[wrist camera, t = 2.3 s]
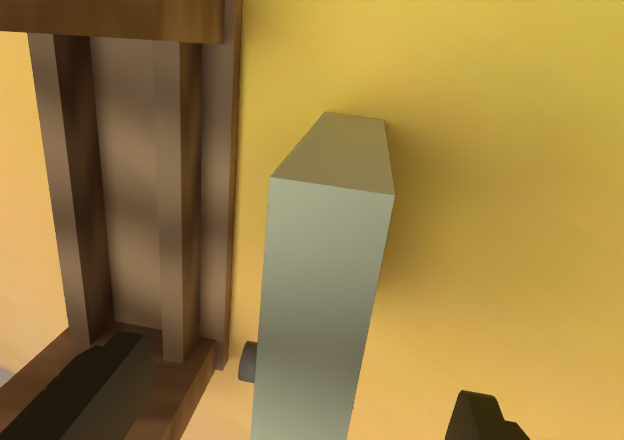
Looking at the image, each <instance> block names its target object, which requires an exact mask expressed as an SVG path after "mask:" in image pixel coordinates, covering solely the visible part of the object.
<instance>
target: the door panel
mask: <svg viewBox="0 0 624 440" xmlns="http://www.w3.org/2000/svg"><path fill="white" fill-rule="evenodd" d="M394 199H395V191H394V184H393V178H392V171H391V164H390V158H389V151H388V144H387V138H386V131H385V124H384V120H380V119H373V118H365V117H358V116H350V115H343V114H335V113H328V112H324V113H323V115H322V116H321V117H320V118H319V119H318V121H317V122H316V123H315V124H314V125H313V126H312V128H311V129H310V130H309V131H308V132H307V134H306V135H305V136H304V137H303V138H302V140H301V141H300V142H299V143H298V144H297V145H296V147H295V148H294V149H293V150H292V151H291V153H290V154H289V155H288V156H287V157H286V158H285V160H284V161H283V162H282V163H281V164H280V166H279V167H278V168H277V169H276V170H275V172H274V173H273V174H272V175H271V176H270V183H269V196H268V210H267V223H266V237H265V250H264V264H263V277H262V290H261V304H260V317H259V331H258V343H256V342H250V341H247V342H246V344H245V346H244V349H243V352H242V355H241V359H240V364H239V371H238V379H239V380H241V381H246V382H251V383H255V385H254V398H253V412H252V425H251V439H250V440H346V439H347V434H348V429H349V424H350V419H351V414H352V409H353V404H354V399H355V394H356V389H357V384H358V379H359V374H360V369H361V364H362V359H363V354H364V349H365V344H366V339H367V334H368V329H369V324H370V319H371V314H372V309H373V304H374V299H375V294H376V289H377V284H378V279H379V274H380V269H381V264H382V259H383V254H384V249H385V244H386V239H387V234H388V229H389V224H390V219H391V214H392V209H393V204H394Z"/></svg>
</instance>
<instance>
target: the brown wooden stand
mask: <svg viewBox="0 0 624 440" xmlns="http://www.w3.org/2000/svg"><path fill="white" fill-rule="evenodd" d="M241 19H242V0H0V31H10V32H26V33H27V35H28V42H29V49H30V56H31V63H32V70H33V77H34V84H35V91H36V99H37V106H38V113H39V120H40V127H41V134H42V141H43V148H44V155H45V162H46V169H47V176H48V183H49V190H50V197H51V204H52V211H53V218H54V225H55V232H56V240H57V247H58V254H59V261H60V268H61V275H62V282H63V289H64V296H65V303H66V310H67V317H68V324H69V327H68V328H67V329H66V330H65V331H63V332H62V333H61V334H60V335H59V336H58V337H57V338H56V339H55V340H53V341H52V342H51V343H50V344H49V345H48V346H47V347H46V348H45V349H43V350H42V351H41V352H40V353H39V354H38V355H37V356H36V357H34V358H33V359H32V360H31V361H30V362H29V363H28V364H27V365H26V366H24V367H23V368H22V369H21V370H20V371H19V372H18V373H17V374H16V375H14V376H13V377H12V378H11V379H10V380H9V381H8V382H7V383H5V384H4V385H3V386H2V387H1V388H0V433H1V432H2V431H3V430H4V429H5V428H6V427H7V426H8V425H9V424H10V423H11V422H12V421H13V420H14V419H15V418H16V417H17V416H18V414H19V413H20V412H21V411H22V410H23V409H24V408H25V407H26V406H27V405H28V404H29V403H30V402H31V401H32V400H33V399H34V398H35V397H36V396H37V395H38V394H39V393H40V392H41V391H42V390H45V389H46V386H47V385H48V384H49V383H50V382H51V381H52V380H53V379H54V378H55V377H56V376H58V375H59V373H60V372H61V371H62V370H63V368H64V367H65V366H66V365H67V364H68V363H69V362H70V361H71V360H72V359H73V358H74V357H76V356H77V355H79V354H81V353H83V352H84V351H86V350H88V349H89V348H91V347H93V346H95V345H98V346H104V345H105V344H106V343H107V342H108V341H109V340H110V339H111V337H112V336H113V335H114V334H115V333H116V332H117V331H118V330H120V329H127V330H133V331H138V332H144V333H149V334H151V336H152V340H153V362H154V384H153V389H152V392H151V395H150V398H149V400H148V402H147V404H146V405H145V407H144V409H143V410H142V412H141V413H140V415H139V416H138V418H137V420H136V421H135V423H134V424H133V426H132V427H131V429H130V430H129V432H128V434H127V435H126V437H125V438H124V440H180V439H181V437H182V435H183V433H184V431H185V429H186V427H187V425H188V423H189V421H190V419H191V417H192V415H193V413H194V411H195V409H196V407H197V405H198V403H199V401H200V399H201V397H202V395H203V393H204V391H205V389H206V387H207V385H208V383H209V381H210V379H211V377H212V375H213V373H214V371H215V369H216V370H221V371H223V369H224V367H225V365H226V363H227V361H228V340H229V316H230V291H231V266H232V241H233V217H234V192H235V167H236V143H237V118H238V93H239V68H240V44H241Z"/></svg>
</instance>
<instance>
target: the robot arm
mask: <svg viewBox="0 0 624 440" xmlns="http://www.w3.org/2000/svg"><path fill="white" fill-rule="evenodd" d="M153 384H154V362H153V340H152V336H151V334H149V333H144V332H138V331H133V330H127V329H120V330H118V331H117V332H116V333H115V334H114V335H113V336H112V337H111V339H110V340H109V341H108V342H107V343H106V344H105V345H104V346H98V345H95V346H93V347H91V348H89V349H88V350H86V351H84V352H83V353H81V354H79V355H77V356H76V357H74V358H73V359H72V360H71V361H70V362H69V363H68V364H67V365H66V366H65V367H64V368H63V370H62V371H61V372H60V373H59V375H58V376H56V377H55V378H54V379H53V380H52V381H51V382H50V383H49V384H48V385H47V386H46V389H45V390H42V391H41V392H40V393H39V394H38V395H37V396H36V397H35V398H34V399H33V400H32V401H31V402H30V403H29V404H28V405H27V406H26V407H25V408H24V409H23V410H22V411H21V412H20V413H19V414H18V416H17V417H16V418H15V419H14V420H13V421H12V422H11V423H10V424H9V425H8V426H7V427H6V428H5V429H4V430H3V431H2V432H1V433H0V440H124V438H125V437H126V435H127V434H128V432H129V430H130V429H131V427H132V426H133V424H134V423H135V421H136V420H137V418H138V416H139V415H140V413H141V412H142V410H143V409H144V407H145V405H146V404H147V402H148V400H149V398H150V395H151V392H152V389H153ZM445 440H530V439H529V437H528V436H527V435H526V434H525V433H524V431H523V430H522V429H521V428H520V427H519V425H518V424H517V423H515V422H510V421H504V418H503V415H502V413H501V410H500V407H499V405H498V402H497V400H496V398H495V397H494V396H492V395H487V394H481V393H476V392H470V391H464V390H462V391H460V393H459V395H458V398H457V401H456V404H455V407H454V410H453V413H452V416H451V419H450V423H449V426H448V429H447V432H446V436H445Z"/></svg>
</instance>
